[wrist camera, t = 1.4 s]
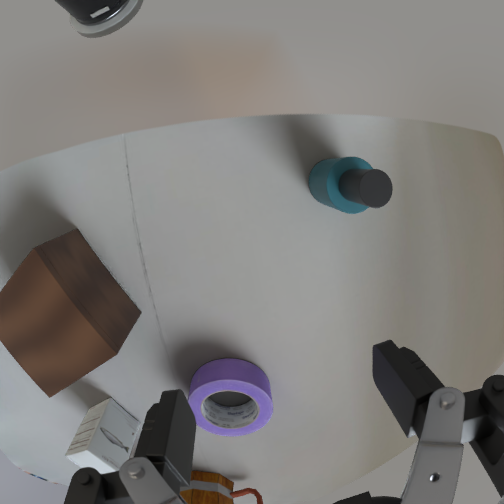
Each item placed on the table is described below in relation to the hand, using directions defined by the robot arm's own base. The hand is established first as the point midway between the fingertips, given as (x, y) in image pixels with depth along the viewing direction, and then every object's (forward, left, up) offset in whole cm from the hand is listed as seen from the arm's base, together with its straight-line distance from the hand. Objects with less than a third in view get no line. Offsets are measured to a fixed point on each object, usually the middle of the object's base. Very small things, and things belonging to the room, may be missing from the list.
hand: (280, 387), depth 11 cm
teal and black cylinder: (0, +12, -25) cm, 28 cm away
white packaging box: (+12, -37, -25) cm, 46 cm away
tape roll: (+17, -15, -25) cm, 34 cm away
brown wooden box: (-7, -25, -25) cm, 36 cm away
